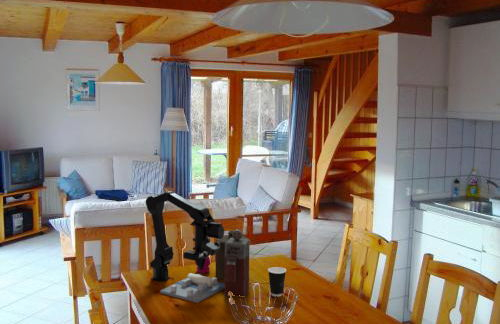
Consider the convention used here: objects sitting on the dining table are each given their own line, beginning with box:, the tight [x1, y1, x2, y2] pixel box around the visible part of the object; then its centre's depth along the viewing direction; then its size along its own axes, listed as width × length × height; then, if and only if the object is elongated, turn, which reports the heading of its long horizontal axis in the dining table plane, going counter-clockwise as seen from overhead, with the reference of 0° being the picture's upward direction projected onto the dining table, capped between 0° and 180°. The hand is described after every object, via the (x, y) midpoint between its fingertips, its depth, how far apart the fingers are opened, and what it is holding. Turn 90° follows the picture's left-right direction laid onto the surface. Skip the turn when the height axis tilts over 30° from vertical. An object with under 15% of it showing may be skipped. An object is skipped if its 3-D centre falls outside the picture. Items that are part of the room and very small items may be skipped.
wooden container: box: [215, 229, 248, 281], centre depth 239 cm, size 15×15×22 cm
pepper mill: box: [195, 237, 211, 274], centre depth 245 cm, size 7×7×20 cm
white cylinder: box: [186, 272, 214, 287], centre depth 224 cm, size 12×4×4 cm, turn 59°
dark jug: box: [223, 228, 251, 297], centre depth 215 cm, size 9×11×28 cm
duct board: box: [159, 273, 225, 304], centre depth 220 cm, size 20×22×4 cm
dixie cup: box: [267, 266, 287, 298], centre depth 216 cm, size 8×8×11 cm
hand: (201, 270), depth 224 cm, fingers closed
